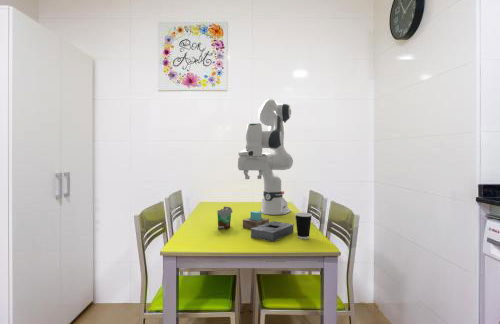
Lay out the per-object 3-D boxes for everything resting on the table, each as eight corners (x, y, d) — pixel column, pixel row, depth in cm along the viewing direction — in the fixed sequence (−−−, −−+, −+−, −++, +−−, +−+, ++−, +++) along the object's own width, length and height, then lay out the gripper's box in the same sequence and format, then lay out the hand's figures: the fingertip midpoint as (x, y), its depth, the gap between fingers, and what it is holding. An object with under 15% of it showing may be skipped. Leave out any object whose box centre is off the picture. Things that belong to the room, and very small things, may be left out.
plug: (253, 225, 167) (253, 211, 166) (261, 227, 164) (261, 212, 163) (250, 226, 164) (250, 211, 164) (258, 228, 161) (258, 213, 161)
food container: (228, 230, 156) (228, 211, 155) (217, 230, 157) (217, 210, 157) (234, 225, 168) (235, 206, 167) (224, 224, 169) (224, 206, 169)
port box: (272, 228, 160) (272, 220, 160) (293, 232, 154) (293, 223, 154) (250, 237, 144) (250, 227, 144) (273, 241, 137) (273, 231, 137)
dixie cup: (292, 235, 147) (292, 212, 147) (307, 234, 149) (307, 212, 149) (298, 240, 139) (299, 216, 139) (314, 239, 141) (315, 215, 141)
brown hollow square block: (253, 223, 171) (253, 216, 171) (268, 226, 165) (268, 219, 165) (242, 227, 163) (242, 219, 162) (258, 230, 157) (258, 222, 157)
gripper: (262, 154, 174) (262, 178, 174) (236, 152, 159) (235, 179, 159) (271, 153, 170) (270, 179, 170) (244, 152, 155) (244, 179, 155)
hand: (253, 179), depth 164 cm, fingers open, 8 cm apart
